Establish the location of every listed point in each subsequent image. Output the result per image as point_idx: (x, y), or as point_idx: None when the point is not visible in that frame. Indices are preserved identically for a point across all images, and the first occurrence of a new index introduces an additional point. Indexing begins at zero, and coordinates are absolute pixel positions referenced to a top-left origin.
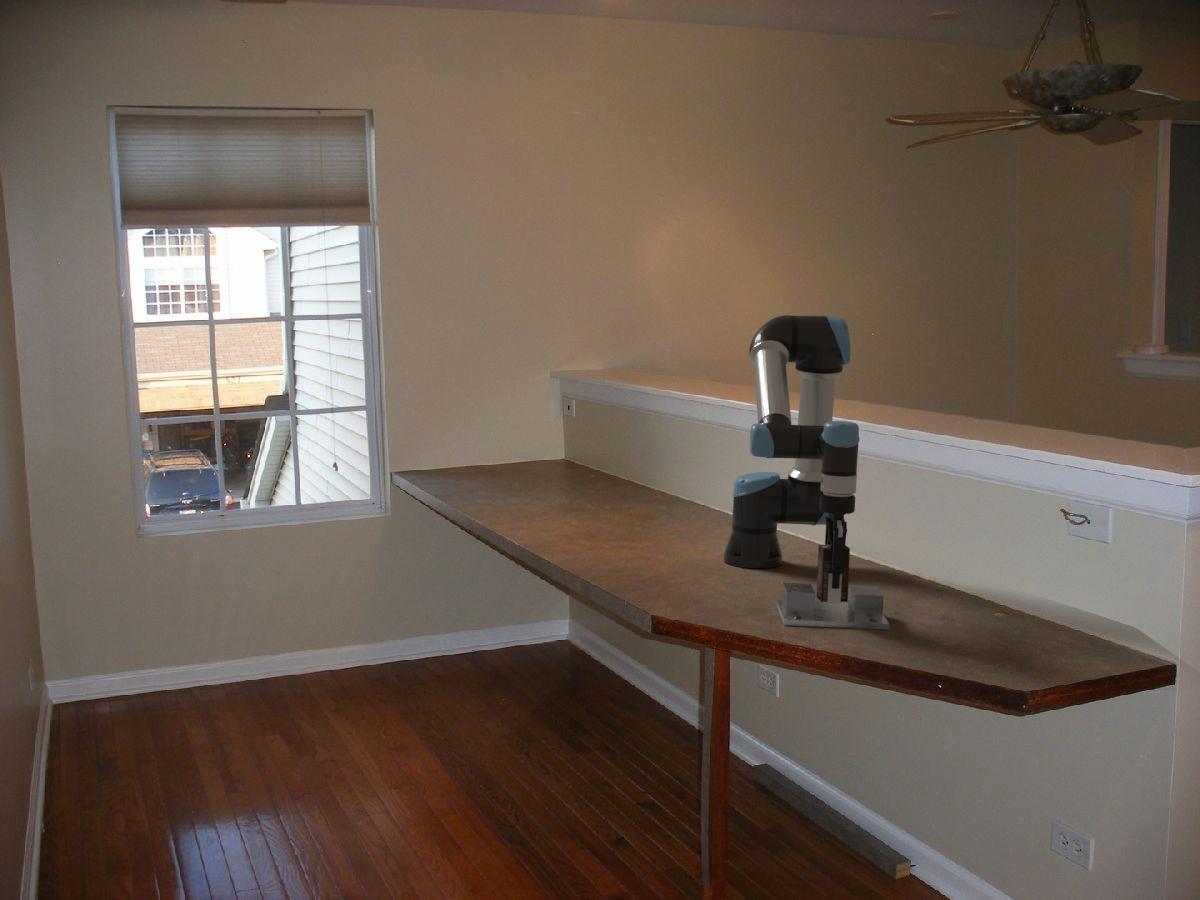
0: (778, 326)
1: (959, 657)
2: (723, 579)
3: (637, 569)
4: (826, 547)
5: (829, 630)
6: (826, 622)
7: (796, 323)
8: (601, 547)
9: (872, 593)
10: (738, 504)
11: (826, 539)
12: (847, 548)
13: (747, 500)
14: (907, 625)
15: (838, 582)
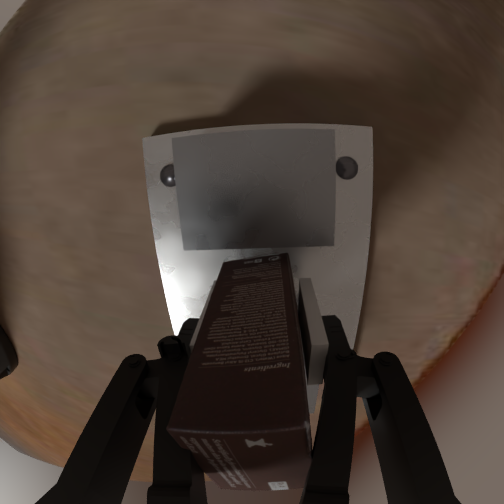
0: None
1: (499, 62)
2: (77, 396)
3: None
4: (293, 484)
5: (383, 285)
6: (362, 297)
7: None
8: (52, 440)
9: (305, 170)
10: None
11: (132, 469)
12: (307, 435)
13: None
14: (313, 66)
15: (343, 333)
